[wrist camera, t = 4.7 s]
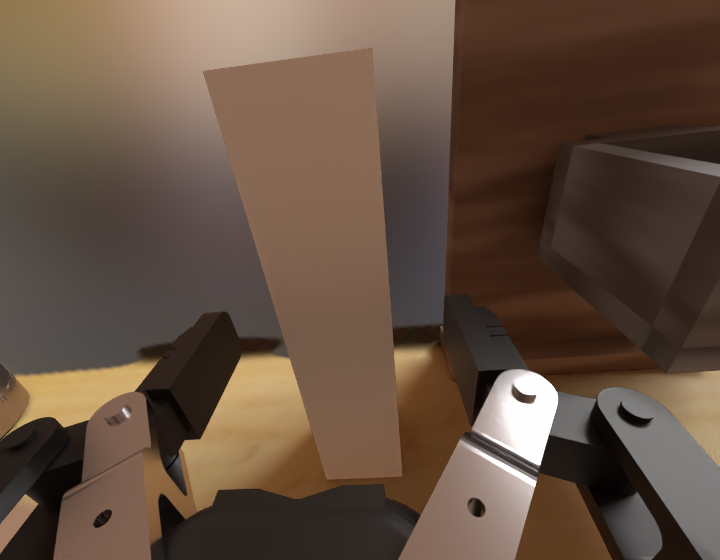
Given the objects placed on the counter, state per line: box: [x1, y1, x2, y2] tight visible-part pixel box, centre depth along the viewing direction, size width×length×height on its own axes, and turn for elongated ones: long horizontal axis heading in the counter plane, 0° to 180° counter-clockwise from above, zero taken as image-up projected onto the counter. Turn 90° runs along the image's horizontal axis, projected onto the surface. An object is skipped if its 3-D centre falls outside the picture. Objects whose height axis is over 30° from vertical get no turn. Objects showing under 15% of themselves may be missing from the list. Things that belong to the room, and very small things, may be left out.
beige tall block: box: [203, 48, 403, 480], centre depth 13 cm, size 4×4×18 cm
